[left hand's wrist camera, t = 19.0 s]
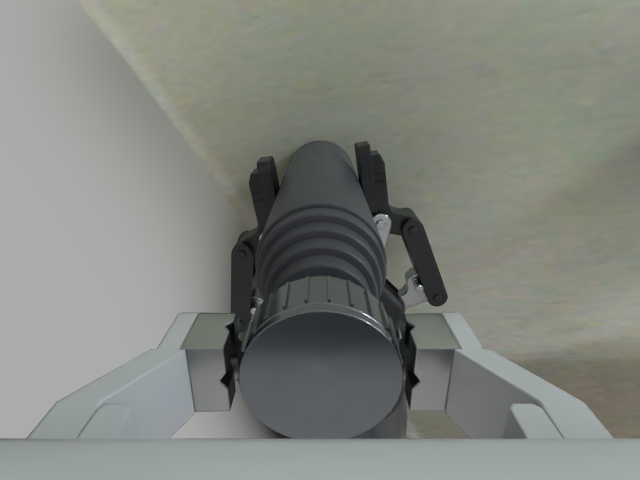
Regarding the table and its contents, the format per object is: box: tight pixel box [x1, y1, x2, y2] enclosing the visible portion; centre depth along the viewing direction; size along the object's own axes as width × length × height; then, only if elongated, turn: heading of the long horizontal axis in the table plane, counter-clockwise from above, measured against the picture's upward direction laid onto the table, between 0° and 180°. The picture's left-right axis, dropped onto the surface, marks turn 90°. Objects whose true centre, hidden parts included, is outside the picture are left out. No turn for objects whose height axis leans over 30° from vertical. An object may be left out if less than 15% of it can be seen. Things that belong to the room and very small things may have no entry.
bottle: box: [255, 141, 386, 301], centre depth 19 cm, size 5×5×21 cm
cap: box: [239, 275, 403, 439], centre depth 10 cm, size 4×4×2 cm
